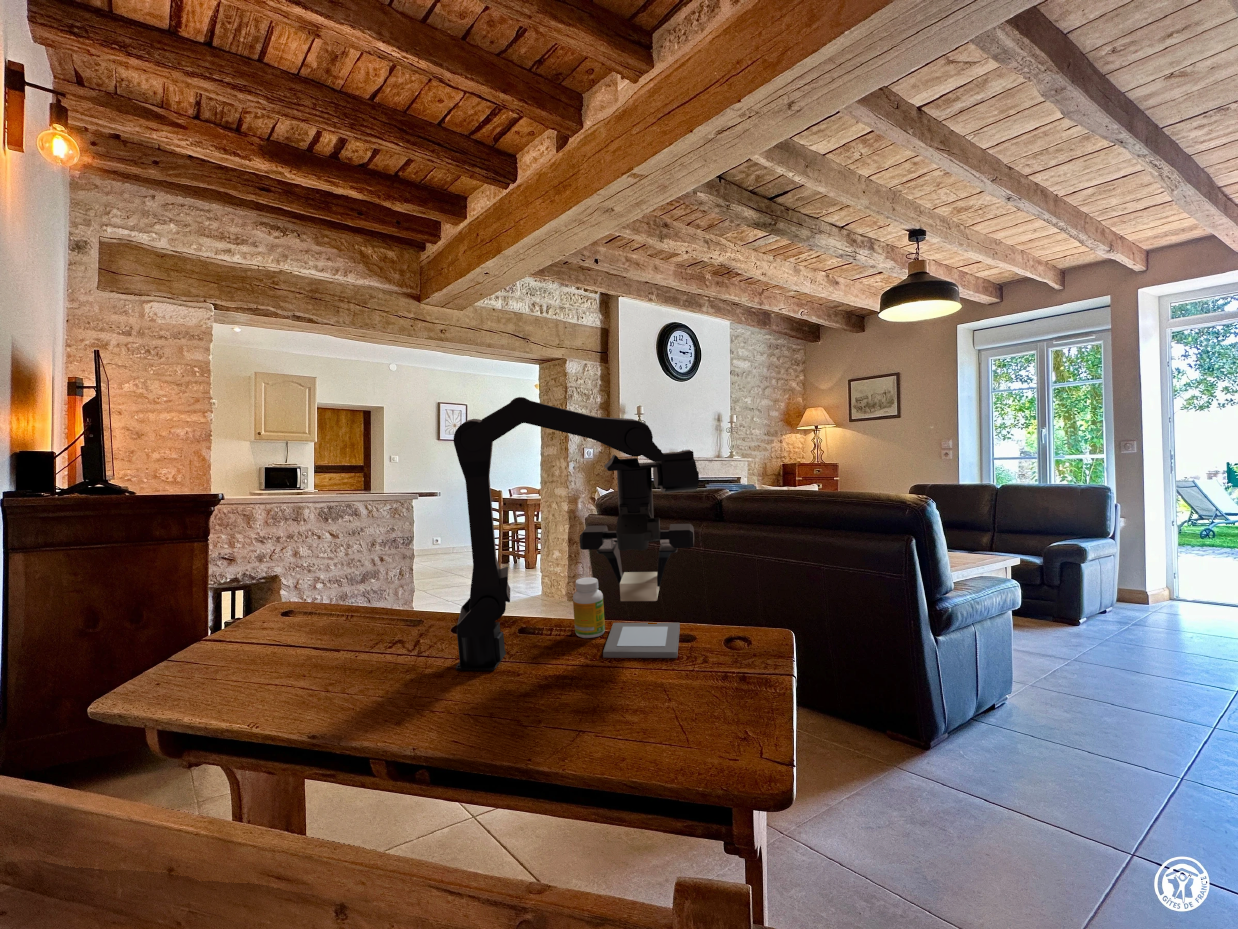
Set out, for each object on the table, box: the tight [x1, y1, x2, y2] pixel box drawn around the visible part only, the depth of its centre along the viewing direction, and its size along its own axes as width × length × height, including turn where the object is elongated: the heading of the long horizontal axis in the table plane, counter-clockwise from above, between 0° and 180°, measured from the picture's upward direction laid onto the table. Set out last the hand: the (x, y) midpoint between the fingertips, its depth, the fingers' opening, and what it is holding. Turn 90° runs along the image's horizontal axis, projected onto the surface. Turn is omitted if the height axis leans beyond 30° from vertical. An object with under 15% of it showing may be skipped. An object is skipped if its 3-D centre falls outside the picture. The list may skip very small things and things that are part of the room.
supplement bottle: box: [572, 576, 606, 639], centre depth 112 cm, size 5×5×10 cm
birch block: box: [619, 571, 660, 602], centre depth 105 cm, size 6×6×3 cm
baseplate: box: [602, 622, 681, 659], centre depth 107 cm, size 12×12×1 cm
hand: (640, 586), depth 105 cm, fingers closed on birch block, 6 cm apart
